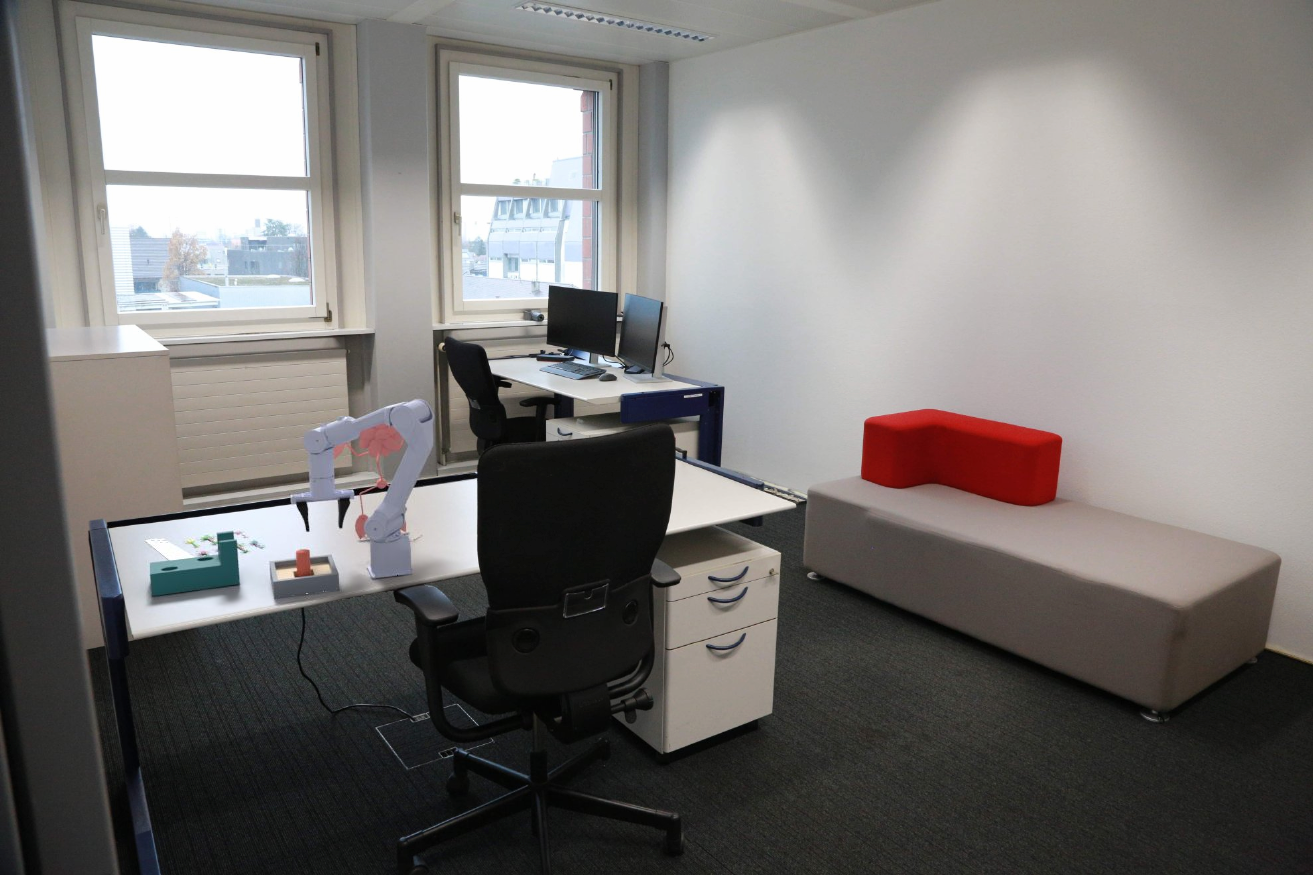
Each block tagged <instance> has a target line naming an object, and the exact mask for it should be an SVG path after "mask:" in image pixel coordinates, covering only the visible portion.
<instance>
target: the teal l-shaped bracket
mask: <svg viewBox="0 0 1313 875" xmlns="http://www.w3.org/2000/svg"><path fill="white" fill-rule="evenodd" d="M234 533H235V531H234V530H229V531H218V532H216V536H217V537H216V542H217V544H216V545H217V549H218V550H217V551H218V552H217V553H218V554H212V555H211V554H210V555H209V556H207V555H203V556H194V557H193V558H185V559H177V560H162V561H154V562H149V577H150V578H149V579H150V590H151V597H153V596H162V595H168V594H169V595H171V594H175V593H176V594H177V593H178V594H179V593H183V592H192V591H198V590H199V591H200V590H206V589H213V588H220V587H227V586H234V585H241V579H240V578H241V577H240V564H239V552H238V549H239V548H238V547H237V543H238V540H237V538H235V534H234Z"/></svg>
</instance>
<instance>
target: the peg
mask: <svg viewBox="0 0 1313 875" xmlns="http://www.w3.org/2000/svg"><path fill="white" fill-rule="evenodd" d="M310 552H311V551H310V550H309V549H303V548H302V549H298V550H296V552H295V558H296V563H297V577H305V576H311V568H310V557H311V553H310Z"/></svg>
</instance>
